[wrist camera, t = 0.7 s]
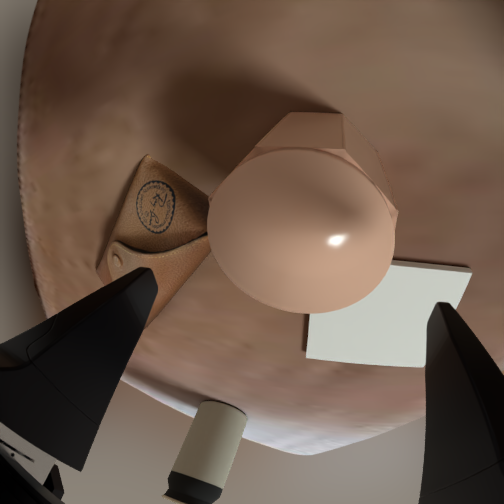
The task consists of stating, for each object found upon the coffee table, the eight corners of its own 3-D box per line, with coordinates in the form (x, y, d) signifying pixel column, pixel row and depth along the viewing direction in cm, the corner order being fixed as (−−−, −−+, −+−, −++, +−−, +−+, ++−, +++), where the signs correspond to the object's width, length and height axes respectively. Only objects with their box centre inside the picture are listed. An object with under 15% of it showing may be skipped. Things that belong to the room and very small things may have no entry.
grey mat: (469, 267, 17) (472, 273, 17) (422, 362, 24) (423, 367, 24) (314, 252, 20) (313, 257, 20) (306, 352, 27) (305, 357, 27)
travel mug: (194, 394, 42) (150, 492, 28) (242, 405, 39) (202, 513, 25) (209, 415, 46) (173, 500, 32) (252, 424, 44) (219, 516, 30)
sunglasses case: (141, 144, 19) (129, 211, 15) (226, 174, 23) (238, 241, 19) (94, 274, 30) (89, 329, 26) (151, 285, 34) (151, 338, 30)
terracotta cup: (379, 116, 14) (410, 161, 8) (369, 226, 18) (375, 321, 12) (254, 111, 16) (191, 152, 10) (262, 217, 20) (220, 302, 14)
